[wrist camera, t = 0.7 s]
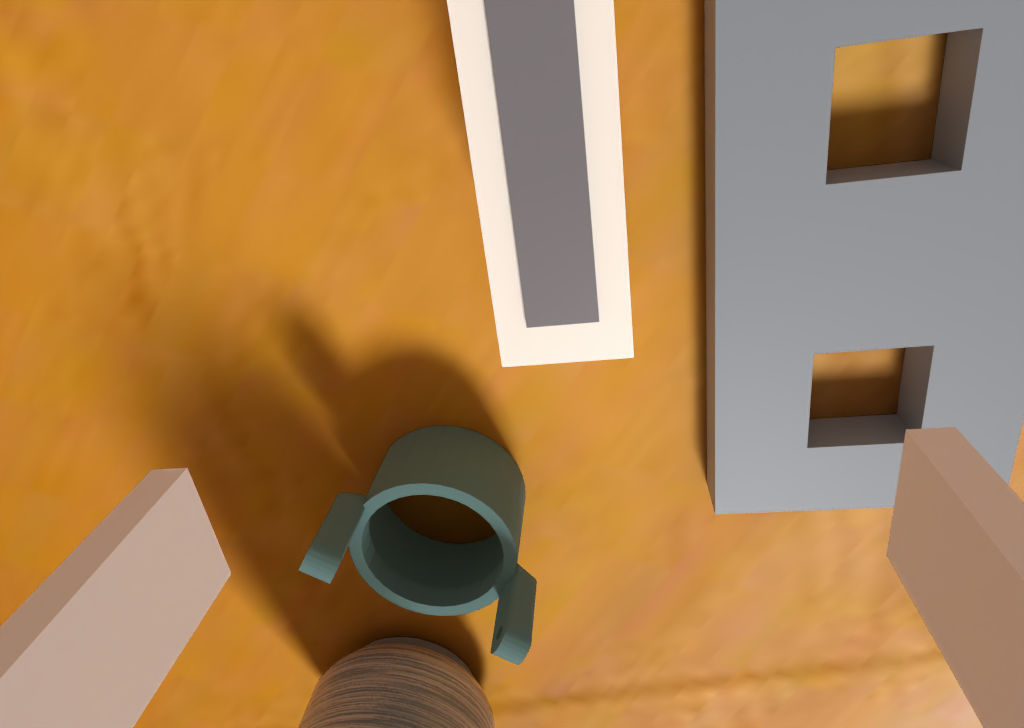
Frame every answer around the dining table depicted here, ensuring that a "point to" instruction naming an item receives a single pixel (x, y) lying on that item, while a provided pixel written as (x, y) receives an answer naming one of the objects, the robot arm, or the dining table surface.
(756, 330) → the board
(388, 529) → the bracket
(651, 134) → the dining table surface
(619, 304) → the block
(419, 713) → the vase
